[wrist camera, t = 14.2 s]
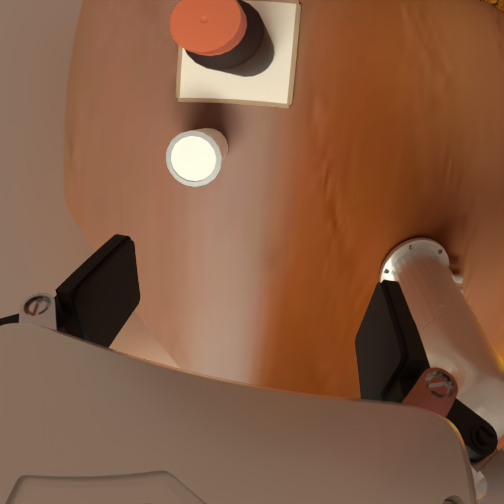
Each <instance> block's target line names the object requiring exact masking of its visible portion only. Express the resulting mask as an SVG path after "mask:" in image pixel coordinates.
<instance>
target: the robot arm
mask: <svg viewBox="0 0 504 504" xmlns="http://www.w3.org/2000/svg"><path fill="white" fill-rule="evenodd" d="M379 280H380V282H378V283H377V285H376V287H375V290H374V293H373V295H372V298H371V301H370V303H369V306H368V308H367V311H366V313H365V316H364V318H363V321H362V323H361V326H360V328H359V330H358V333H357V335H356V339H355V347H356V355H357V364H358V372H359V382H360V392H361V399H356V398H345V397H336V396H327V395H318V394H310V393H302V392H295V391H288V390H282V389H275V388H269V387H263V386H258V385H252V384H247V383H241V382H236V381H231V380H226V379H222V378H217V377H212V376H208V375H203V374H199V373H195V372H191V371H187V370H183V369H179V368H175V367H171V366H167V365H164V364H160V363H156V362H152V361H149V360H145V359H142V358H139V357H135V356H132V355H128V354H125V353H122V352H119V351H116V350H113V349H110V348H109V346H110V345H111V343H112V342H113V340H114V339H115V337H116V336H117V334H118V333H119V331H120V330H121V328H122V327H123V325H124V324H125V323H126V321H127V320H128V318H129V317H130V315H131V314H132V312H133V311H134V310H135V308H136V307H137V305H138V304H139V301H140V290H139V282H138V274H137V265H136V255H135V245H134V242H133V241H132V240H131V238H130V237H129V236H124V235H118V234H116V235H114V236H113V237H112V238H111V239H109V240H108V241H107V242H106V243H105V244H104V245H103V246H102V247H100V248H99V249H98V250H97V251H96V252H95V253H94V254H93V255H92V256H91V257H90V258H88V259H87V260H86V261H85V262H84V263H83V264H82V265H81V266H80V267H79V268H78V269H77V270H75V271H74V272H73V273H72V274H71V275H70V276H69V277H68V278H67V279H66V280H65V281H64V282H63V283H62V284H61V285H60V286H59V287H58V288H57V289H56V293H57V295H56V296H55V297H53V296H52V295H50V294H48V293H37V294H34V295H31V296H29V297H28V298H26V299H25V300H24V301H23V303H22V304H21V307H20V313H19V314H16V315H12V316H9V317H4V318H1V319H0V504H504V444H502V445H500V446H498V447H497V443H498V439H499V438H500V437H501V436H503V435H504V361H503V360H502V358H501V357H500V356H499V354H498V353H497V351H496V350H495V348H494V347H493V345H492V344H491V342H490V340H489V338H488V337H487V335H486V333H485V332H484V330H483V328H482V326H481V325H480V323H479V321H478V319H477V318H476V316H475V314H474V312H473V311H472V309H471V307H470V305H469V304H468V302H467V300H466V299H465V297H464V295H463V288H462V287H460V286H457V284H456V283H460V284H461V283H462V282H463V276H462V275H453V273H452V272H451V270H450V269H449V258H448V255H447V253H446V251H445V250H444V248H443V247H442V246H441V245H440V244H439V243H438V242H436V241H435V240H432V239H429V238H414V239H410V240H407V241H405V242H403V243H401V244H400V245H398V246H397V247H395V248H394V249H393V250H392V251H391V252H390V253H389V254H388V256H387V257H386V258H385V260H384V262H383V264H382V266H381V269H380V275H379Z"/></svg>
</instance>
